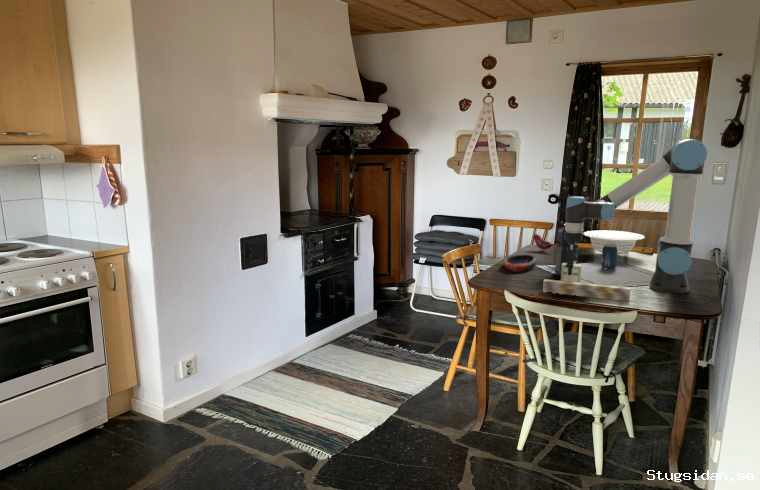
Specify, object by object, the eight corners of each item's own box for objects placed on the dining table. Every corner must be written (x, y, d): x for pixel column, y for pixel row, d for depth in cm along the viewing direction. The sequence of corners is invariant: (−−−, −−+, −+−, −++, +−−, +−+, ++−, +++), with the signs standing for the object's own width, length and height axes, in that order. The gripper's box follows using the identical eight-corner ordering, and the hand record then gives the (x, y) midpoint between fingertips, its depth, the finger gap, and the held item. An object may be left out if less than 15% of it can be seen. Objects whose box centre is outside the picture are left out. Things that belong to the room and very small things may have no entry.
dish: (542, 263, 282) (543, 254, 281) (524, 275, 256) (525, 265, 255) (514, 260, 290) (514, 251, 289) (494, 271, 265) (494, 262, 264)
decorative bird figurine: (533, 249, 317) (534, 233, 315) (559, 254, 303) (560, 237, 301) (530, 250, 315) (531, 233, 313) (557, 255, 302) (558, 237, 300)
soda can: (613, 267, 272) (615, 244, 270) (617, 270, 265) (619, 246, 263) (599, 266, 273) (601, 244, 270) (603, 269, 266) (605, 246, 264)
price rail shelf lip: (629, 299, 217) (630, 287, 216) (629, 301, 213) (630, 289, 212) (543, 290, 231) (544, 279, 230) (542, 292, 227) (543, 281, 226)
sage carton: (580, 285, 238) (581, 264, 236) (579, 288, 233) (580, 266, 231) (561, 283, 241) (562, 262, 239) (560, 286, 236) (561, 265, 234)
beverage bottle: (550, 276, 255) (553, 225, 250) (558, 270, 265) (561, 221, 260) (572, 279, 249) (575, 227, 244) (579, 273, 260) (582, 223, 255)
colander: (652, 256, 295) (654, 234, 292) (629, 266, 273) (631, 242, 271) (596, 248, 318) (597, 228, 315) (571, 256, 296) (572, 234, 294)
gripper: (567, 226, 245) (564, 271, 249) (561, 235, 222) (558, 284, 226) (584, 227, 242) (581, 272, 246) (580, 236, 219) (577, 285, 223)
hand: (570, 278), depth 236 cm, fingers open, 13 cm apart
